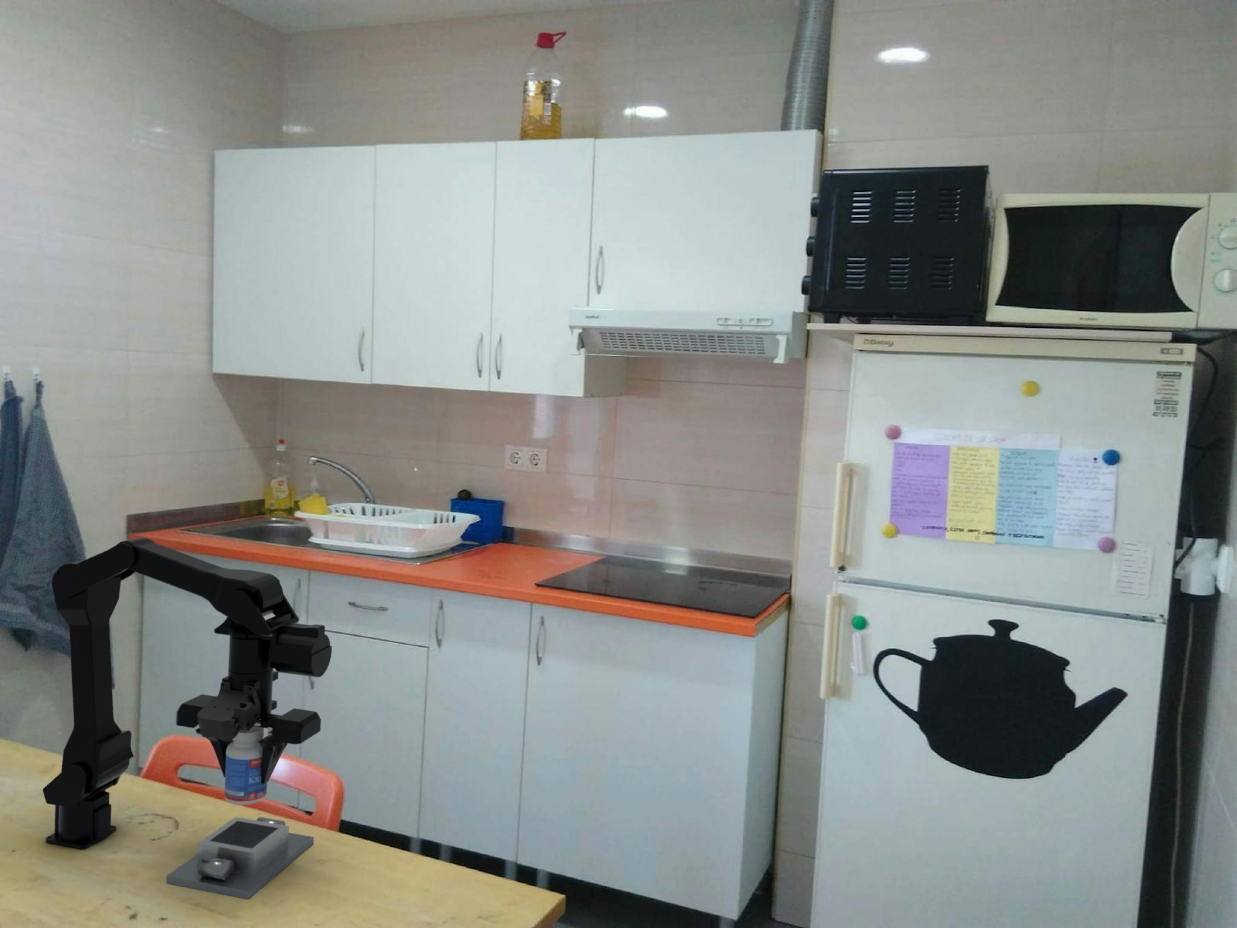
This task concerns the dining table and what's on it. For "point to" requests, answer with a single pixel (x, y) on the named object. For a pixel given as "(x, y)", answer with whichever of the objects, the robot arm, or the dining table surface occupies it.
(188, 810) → the dining table surface
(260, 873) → the base
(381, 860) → the dining table surface
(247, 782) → the pill bottle
